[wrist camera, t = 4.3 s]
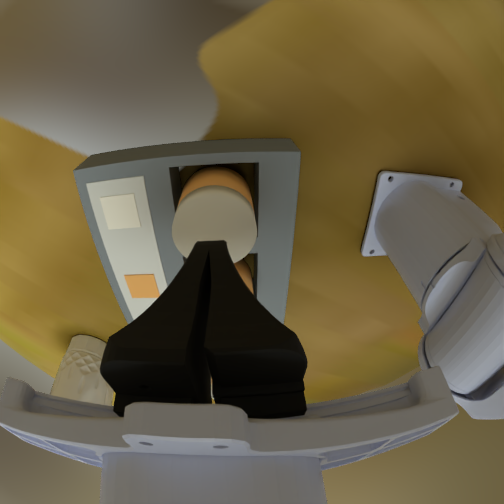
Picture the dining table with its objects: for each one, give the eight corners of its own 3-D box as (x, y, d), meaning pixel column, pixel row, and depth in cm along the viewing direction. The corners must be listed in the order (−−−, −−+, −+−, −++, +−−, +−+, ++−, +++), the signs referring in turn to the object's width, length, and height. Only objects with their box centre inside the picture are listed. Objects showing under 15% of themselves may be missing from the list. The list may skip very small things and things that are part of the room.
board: (290, 138, 18) (301, 152, 15) (272, 358, 34) (275, 380, 31) (91, 154, 17) (71, 171, 15) (161, 361, 33) (158, 383, 30)
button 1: (251, 164, 17) (257, 193, 13) (251, 226, 19) (256, 265, 16) (177, 168, 16) (165, 198, 13) (185, 229, 19) (178, 268, 16)
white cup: (59, 342, 30) (39, 406, 22) (81, 322, 28) (58, 398, 20) (104, 370, 34) (92, 431, 26) (133, 355, 32) (121, 427, 24)
